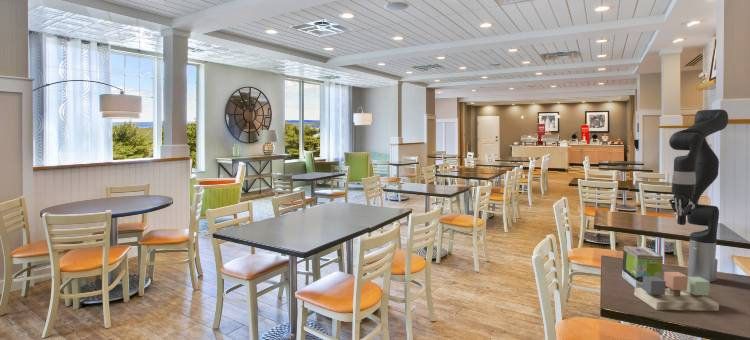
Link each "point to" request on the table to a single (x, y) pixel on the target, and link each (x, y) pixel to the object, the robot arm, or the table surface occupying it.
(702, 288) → the sage green cube
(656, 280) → the grey cube
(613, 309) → the table surface
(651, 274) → the tea box
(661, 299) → the key board
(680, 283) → the terracotta key
